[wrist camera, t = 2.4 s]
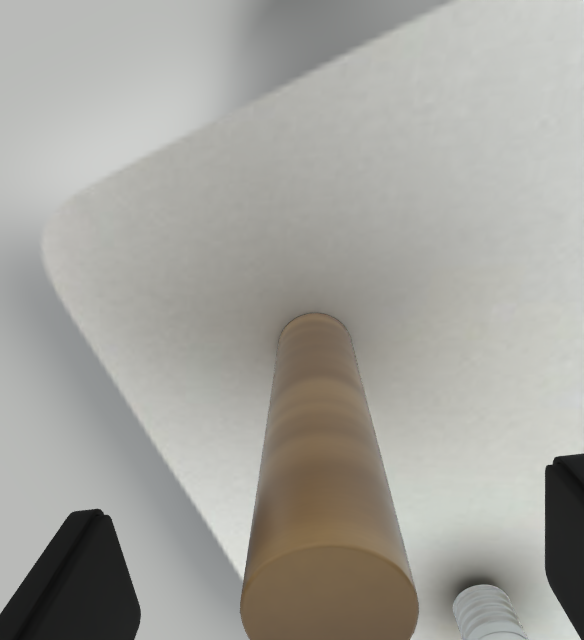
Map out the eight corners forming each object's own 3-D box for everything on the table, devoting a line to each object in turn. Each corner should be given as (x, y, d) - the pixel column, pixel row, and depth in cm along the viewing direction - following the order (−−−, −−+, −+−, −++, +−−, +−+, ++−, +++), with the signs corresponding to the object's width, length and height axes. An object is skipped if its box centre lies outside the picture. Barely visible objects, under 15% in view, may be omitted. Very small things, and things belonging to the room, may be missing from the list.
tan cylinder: (272, 318, 19) (223, 554, 8) (347, 307, 19) (412, 535, 7) (284, 385, 20) (256, 685, 8) (355, 375, 20) (425, 671, 8)
